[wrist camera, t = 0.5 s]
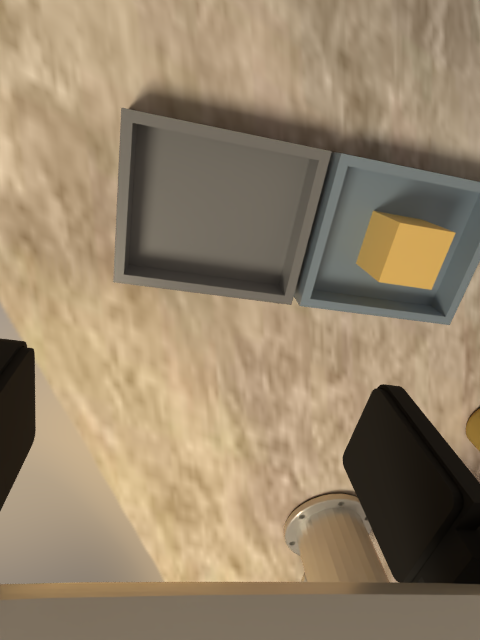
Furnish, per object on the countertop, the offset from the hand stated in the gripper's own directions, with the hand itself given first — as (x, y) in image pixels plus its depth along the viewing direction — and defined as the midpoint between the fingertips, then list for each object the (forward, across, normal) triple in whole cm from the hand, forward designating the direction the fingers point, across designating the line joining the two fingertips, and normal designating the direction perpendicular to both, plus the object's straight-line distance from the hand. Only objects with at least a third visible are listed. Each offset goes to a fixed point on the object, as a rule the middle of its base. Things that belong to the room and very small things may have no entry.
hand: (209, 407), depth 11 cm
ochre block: (+25, -18, -1) cm, 31 cm away
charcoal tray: (+26, -2, 0) cm, 26 cm away
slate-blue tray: (+26, -18, -1) cm, 31 cm away
